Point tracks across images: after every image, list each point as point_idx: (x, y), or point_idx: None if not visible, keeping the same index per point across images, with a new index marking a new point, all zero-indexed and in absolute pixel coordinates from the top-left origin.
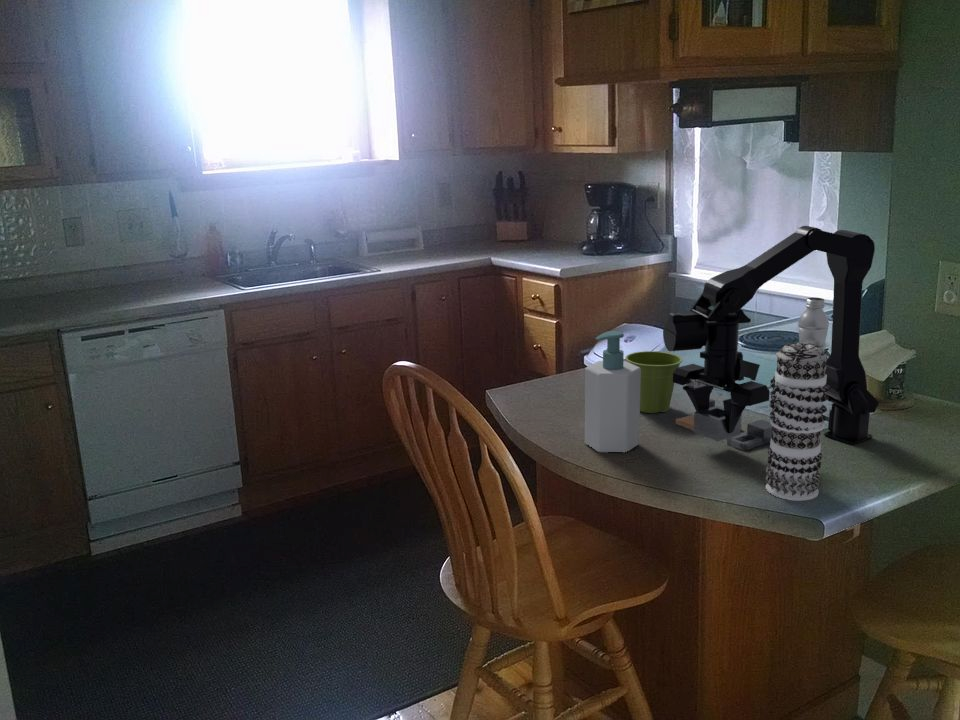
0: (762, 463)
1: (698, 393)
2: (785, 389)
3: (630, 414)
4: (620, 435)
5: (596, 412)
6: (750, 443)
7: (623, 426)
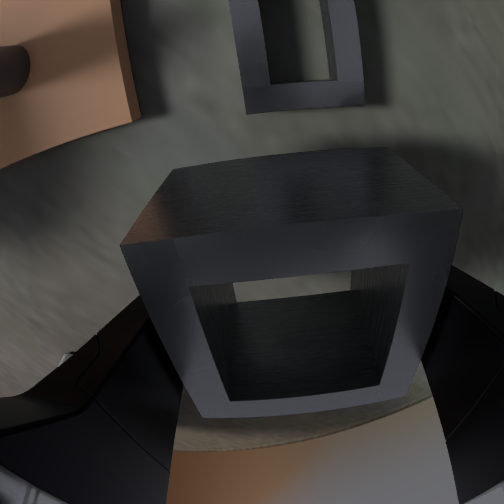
0: (479, 150)
1: (147, 501)
2: None
3: None
4: None
5: None
6: (358, 52)
7: None
